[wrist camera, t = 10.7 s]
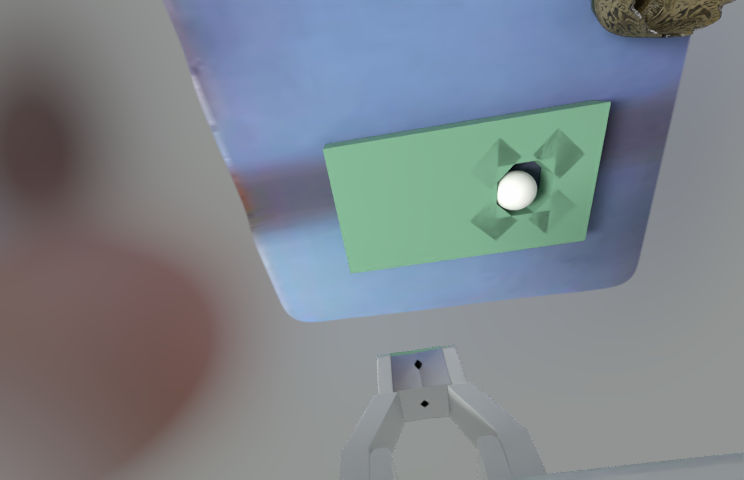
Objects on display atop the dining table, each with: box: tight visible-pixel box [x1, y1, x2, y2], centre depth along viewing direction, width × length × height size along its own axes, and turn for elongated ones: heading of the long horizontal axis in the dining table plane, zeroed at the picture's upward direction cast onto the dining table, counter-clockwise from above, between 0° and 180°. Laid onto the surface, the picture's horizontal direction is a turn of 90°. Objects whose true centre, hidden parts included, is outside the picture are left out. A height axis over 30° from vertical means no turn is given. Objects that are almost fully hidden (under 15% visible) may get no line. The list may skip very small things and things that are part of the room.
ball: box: [497, 170, 537, 210], centre depth 31 cm, size 4×4×4 cm
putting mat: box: [323, 100, 611, 273], centre depth 32 cm, size 14×26×2 cm, turn 99°
